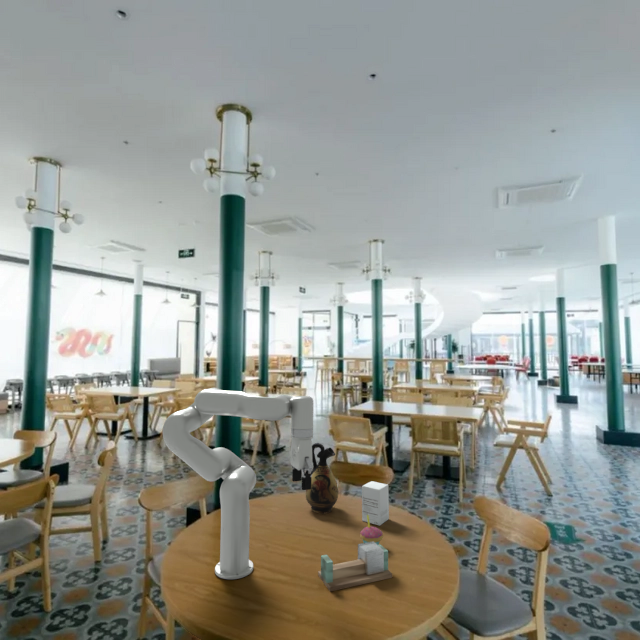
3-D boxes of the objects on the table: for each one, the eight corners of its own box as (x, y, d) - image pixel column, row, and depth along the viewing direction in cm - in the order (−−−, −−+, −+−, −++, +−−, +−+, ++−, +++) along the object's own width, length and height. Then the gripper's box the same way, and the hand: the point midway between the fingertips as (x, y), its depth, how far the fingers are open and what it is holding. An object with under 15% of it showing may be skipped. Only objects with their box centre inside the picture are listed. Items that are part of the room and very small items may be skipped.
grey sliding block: (357, 564, 139) (357, 544, 139) (373, 561, 141) (373, 541, 141) (367, 575, 132) (367, 553, 133) (383, 571, 134) (383, 550, 135)
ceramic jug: (343, 506, 196) (343, 442, 198) (330, 518, 181) (331, 449, 184) (310, 501, 202) (311, 439, 205) (296, 512, 188) (297, 445, 191)
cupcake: (355, 547, 154) (355, 514, 155) (369, 540, 161) (368, 508, 162) (374, 555, 149) (374, 520, 150) (387, 547, 155) (387, 514, 156)
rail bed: (318, 575, 135) (318, 552, 135) (376, 563, 143) (376, 541, 144) (330, 591, 126) (330, 566, 126) (392, 577, 134) (392, 554, 134)
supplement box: (371, 514, 186) (371, 480, 188) (389, 519, 181) (389, 484, 182) (361, 521, 179) (361, 485, 180) (379, 526, 174) (379, 489, 175)
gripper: (284, 429, 146) (283, 479, 145) (299, 438, 130) (299, 494, 129) (304, 428, 149) (303, 476, 147) (321, 437, 133) (321, 491, 131)
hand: (301, 485), depth 138 cm, fingers open, 9 cm apart
